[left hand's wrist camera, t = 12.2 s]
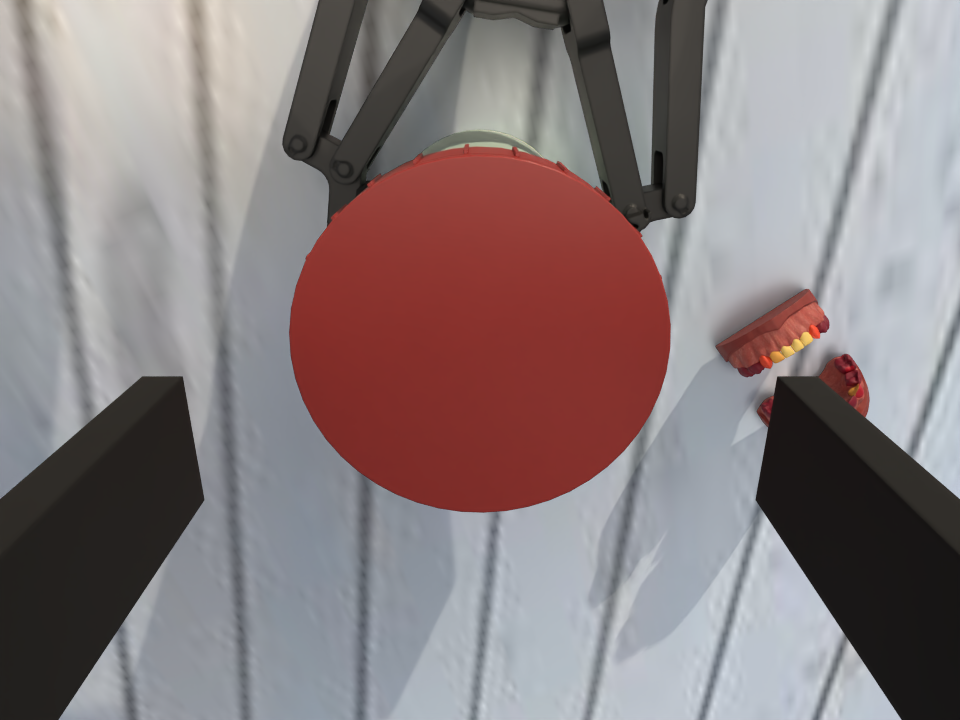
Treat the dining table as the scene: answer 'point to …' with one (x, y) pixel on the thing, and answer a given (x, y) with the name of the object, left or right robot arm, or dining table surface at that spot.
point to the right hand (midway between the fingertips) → (464, 349)
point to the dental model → (780, 331)
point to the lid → (479, 330)
